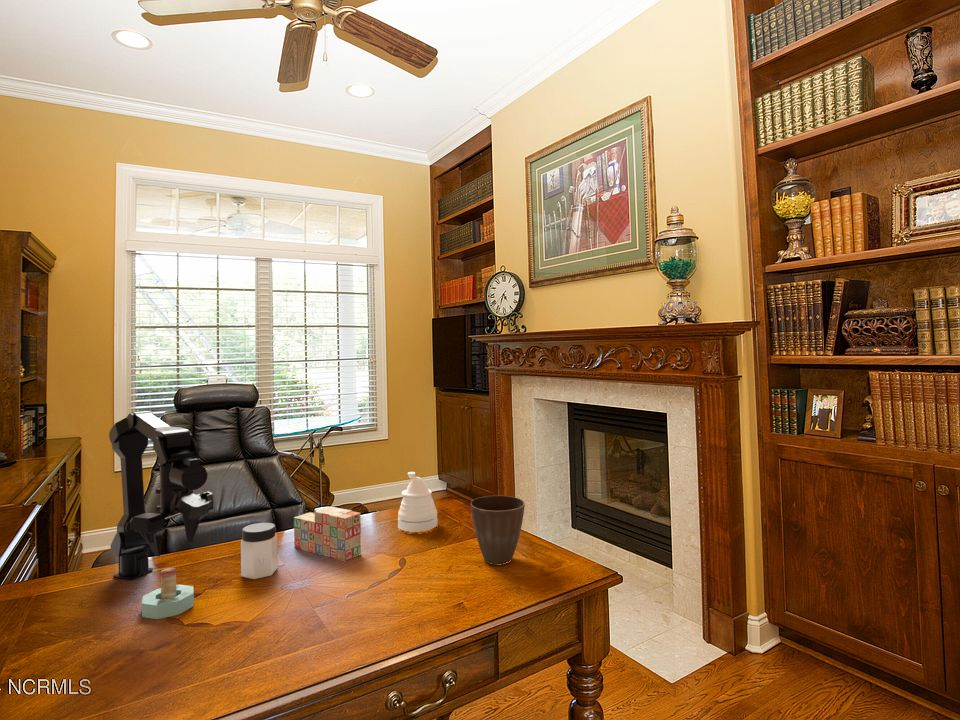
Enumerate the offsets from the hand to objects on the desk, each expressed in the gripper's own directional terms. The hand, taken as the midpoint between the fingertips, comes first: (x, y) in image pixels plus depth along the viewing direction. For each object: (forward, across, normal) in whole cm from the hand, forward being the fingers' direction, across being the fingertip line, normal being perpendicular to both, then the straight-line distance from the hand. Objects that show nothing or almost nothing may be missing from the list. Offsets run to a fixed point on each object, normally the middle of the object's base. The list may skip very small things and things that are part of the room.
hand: (174, 549), depth 126 cm
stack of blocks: (+12, +36, -18) cm, 42 cm away
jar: (+12, +18, -10) cm, 23 cm away
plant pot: (+11, +42, -68) cm, 81 cm away
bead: (+12, -4, -3) cm, 13 cm away
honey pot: (+12, +63, -35) cm, 73 cm away
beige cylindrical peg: (+12, -4, -3) cm, 13 cm away
